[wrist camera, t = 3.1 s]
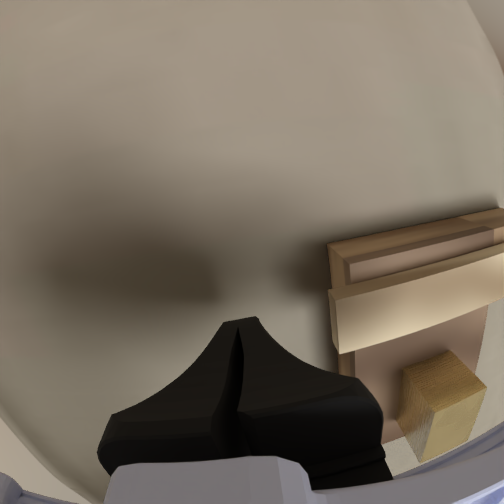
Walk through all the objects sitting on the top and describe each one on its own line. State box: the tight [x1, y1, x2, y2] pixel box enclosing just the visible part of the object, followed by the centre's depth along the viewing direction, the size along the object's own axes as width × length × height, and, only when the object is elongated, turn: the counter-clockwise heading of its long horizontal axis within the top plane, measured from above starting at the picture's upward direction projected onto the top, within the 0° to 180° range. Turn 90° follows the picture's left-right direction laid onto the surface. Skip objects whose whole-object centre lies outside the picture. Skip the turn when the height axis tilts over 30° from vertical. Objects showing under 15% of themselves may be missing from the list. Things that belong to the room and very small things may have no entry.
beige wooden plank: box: [328, 243, 504, 354], centre depth 12 cm, size 2×10×1 cm, turn 101°
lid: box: [343, 226, 494, 463], centre depth 12 cm, size 12×8×4 cm, turn 11°
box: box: [327, 208, 504, 376], centre depth 15 cm, size 12×12×3 cm
